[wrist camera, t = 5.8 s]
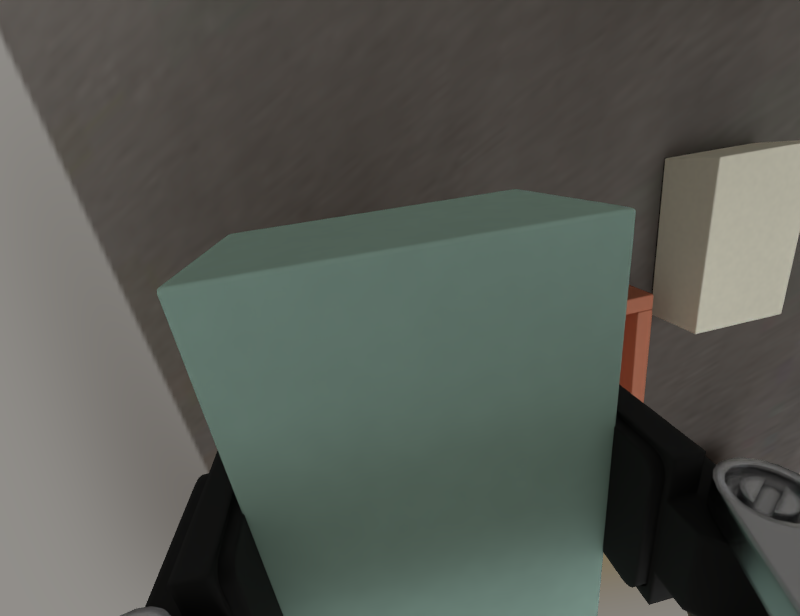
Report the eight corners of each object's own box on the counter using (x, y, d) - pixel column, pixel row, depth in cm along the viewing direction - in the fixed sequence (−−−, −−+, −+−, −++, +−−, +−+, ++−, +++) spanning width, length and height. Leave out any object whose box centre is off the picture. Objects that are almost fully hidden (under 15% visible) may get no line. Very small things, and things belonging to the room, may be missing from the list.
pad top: (664, 158, 23) (720, 157, 20) (752, 142, 24) (821, 138, 20) (650, 314, 27) (695, 334, 23) (727, 296, 27) (781, 314, 24)
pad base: (226, 234, 8) (152, 289, 4) (517, 187, 8) (638, 206, 5) (328, 574, 11) (328, 739, 8) (522, 524, 12) (594, 658, 9)
